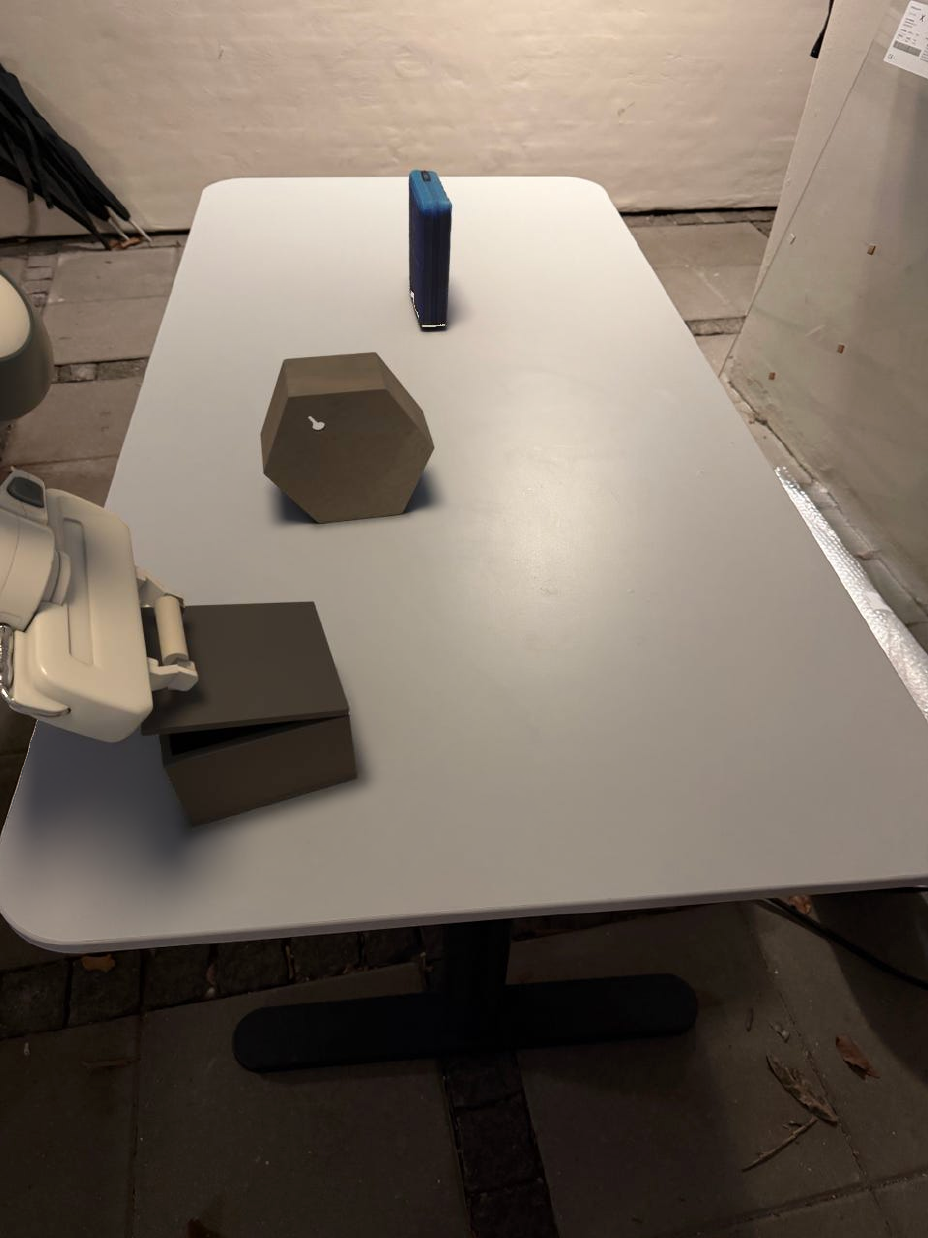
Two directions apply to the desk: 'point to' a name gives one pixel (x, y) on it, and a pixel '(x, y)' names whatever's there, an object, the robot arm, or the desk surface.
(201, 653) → the brown box lid
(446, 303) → the blue hard case
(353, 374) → the brown hexagonal block
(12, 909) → the desk surface
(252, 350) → the desk surface
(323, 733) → the dark wooden chest
